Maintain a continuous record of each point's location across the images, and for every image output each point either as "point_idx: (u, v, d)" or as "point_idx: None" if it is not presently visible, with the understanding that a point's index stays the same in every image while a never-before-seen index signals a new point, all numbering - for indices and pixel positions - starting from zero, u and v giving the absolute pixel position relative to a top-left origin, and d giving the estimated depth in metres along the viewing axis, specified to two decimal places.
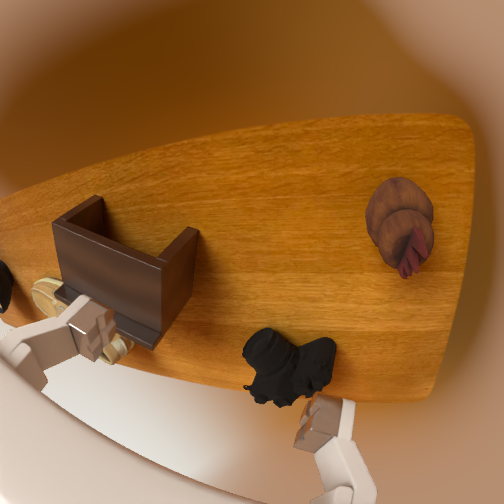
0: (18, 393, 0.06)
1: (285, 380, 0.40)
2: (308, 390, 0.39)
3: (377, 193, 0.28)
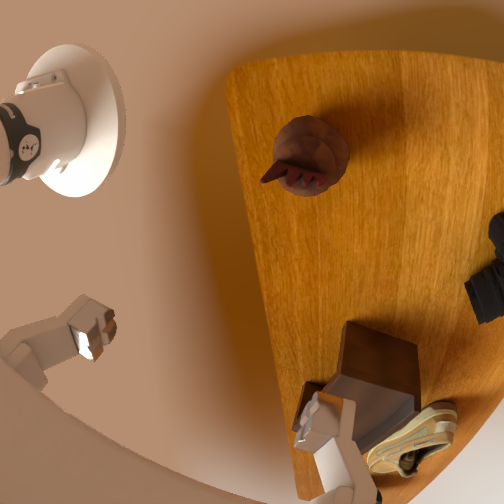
0: (18, 393, 0.06)
1: None
2: None
3: None
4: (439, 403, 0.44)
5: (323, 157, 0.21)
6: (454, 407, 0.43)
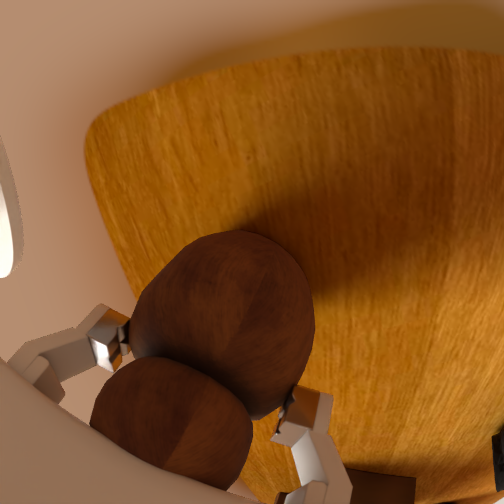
0: (18, 393, 0.06)
1: None
2: None
3: None
4: None
5: (189, 473, 0.06)
6: None
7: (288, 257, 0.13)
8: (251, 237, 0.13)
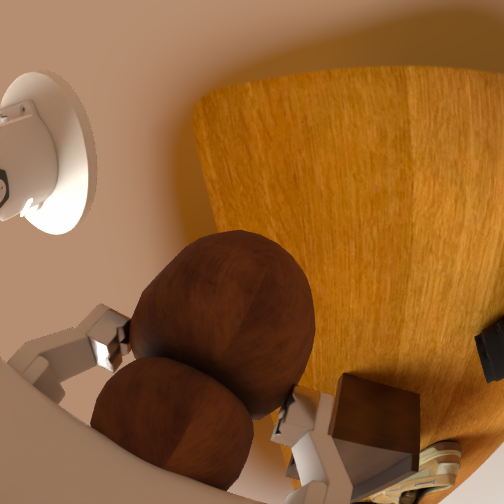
0: (18, 393, 0.06)
1: None
2: None
3: None
4: (443, 443, 0.38)
5: (190, 473, 0.06)
6: (458, 446, 0.37)
7: (288, 257, 0.13)
8: (251, 237, 0.13)
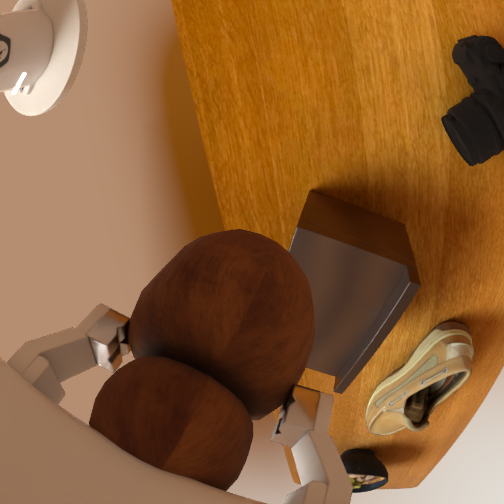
0: (18, 393, 0.06)
1: (499, 102, 0.18)
2: None
3: None
4: (447, 323, 0.38)
5: (189, 473, 0.06)
6: (467, 329, 0.36)
7: (288, 256, 0.13)
8: (251, 236, 0.13)
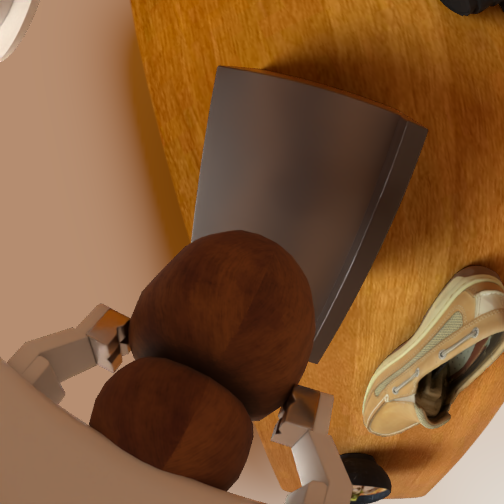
0: (18, 393, 0.06)
1: None
2: None
3: None
4: (471, 267, 0.26)
5: (189, 474, 0.06)
6: (498, 277, 0.25)
7: (288, 257, 0.13)
8: (251, 237, 0.13)
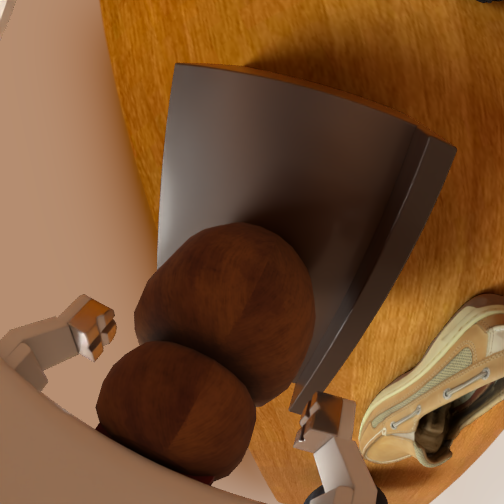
0: (18, 393, 0.06)
1: None
2: None
3: None
4: (484, 296, 0.22)
5: (194, 453, 0.07)
6: None
7: (289, 248, 0.14)
8: (253, 229, 0.14)
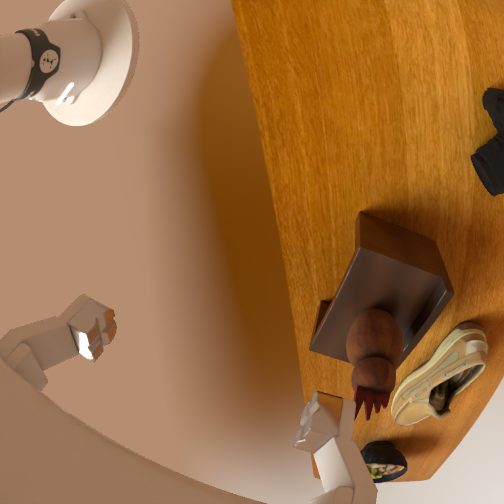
0: (18, 393, 0.06)
1: None
2: None
3: None
4: (466, 323, 0.42)
5: (390, 384, 0.27)
6: (482, 328, 0.41)
7: (392, 318, 0.34)
8: (382, 312, 0.34)
